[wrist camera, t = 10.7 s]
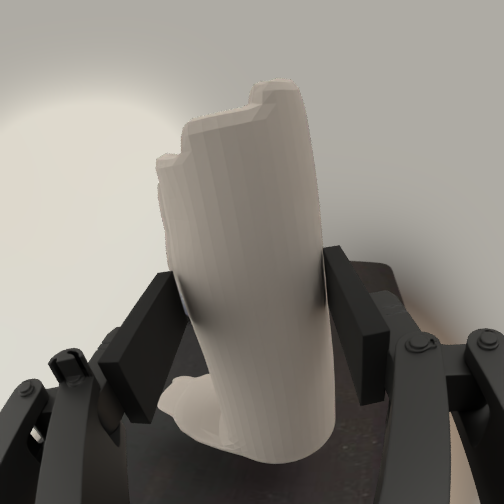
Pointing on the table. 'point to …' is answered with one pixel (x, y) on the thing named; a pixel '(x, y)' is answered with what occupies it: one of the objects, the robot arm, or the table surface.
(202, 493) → the table surface
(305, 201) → the candle
